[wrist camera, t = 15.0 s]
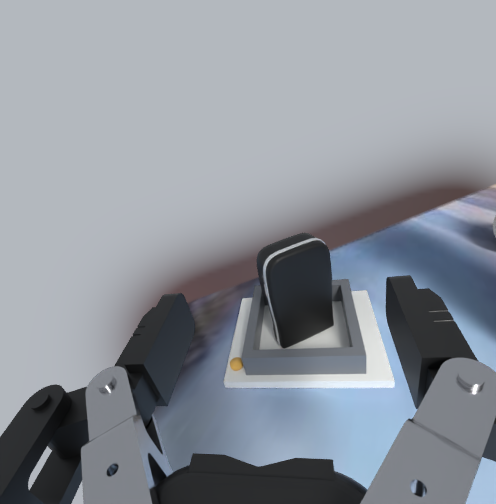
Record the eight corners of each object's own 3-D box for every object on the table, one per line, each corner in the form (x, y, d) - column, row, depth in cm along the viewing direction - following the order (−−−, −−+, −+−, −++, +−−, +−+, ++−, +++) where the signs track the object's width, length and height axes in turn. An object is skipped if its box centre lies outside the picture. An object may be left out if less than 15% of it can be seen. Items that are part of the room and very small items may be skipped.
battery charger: (318, 307, 38) (309, 223, 32) (337, 326, 34) (331, 236, 29) (266, 330, 36) (248, 246, 30) (281, 352, 33) (264, 262, 27)
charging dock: (366, 296, 39) (366, 273, 37) (394, 387, 28) (395, 361, 26) (243, 303, 43) (238, 283, 41) (225, 388, 32) (217, 365, 30)
